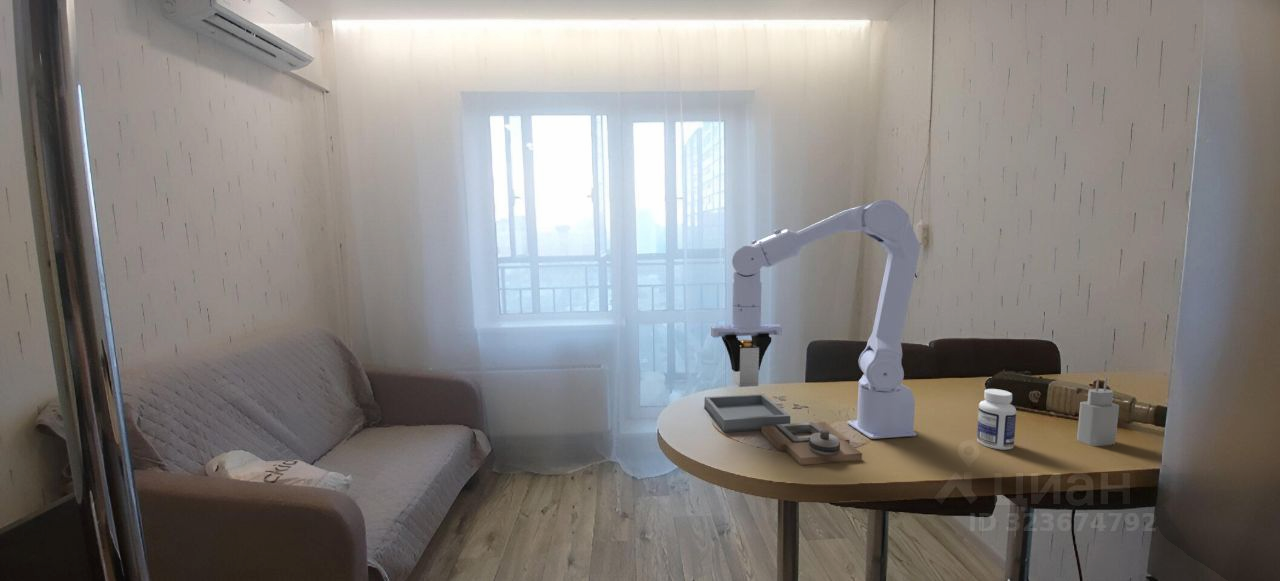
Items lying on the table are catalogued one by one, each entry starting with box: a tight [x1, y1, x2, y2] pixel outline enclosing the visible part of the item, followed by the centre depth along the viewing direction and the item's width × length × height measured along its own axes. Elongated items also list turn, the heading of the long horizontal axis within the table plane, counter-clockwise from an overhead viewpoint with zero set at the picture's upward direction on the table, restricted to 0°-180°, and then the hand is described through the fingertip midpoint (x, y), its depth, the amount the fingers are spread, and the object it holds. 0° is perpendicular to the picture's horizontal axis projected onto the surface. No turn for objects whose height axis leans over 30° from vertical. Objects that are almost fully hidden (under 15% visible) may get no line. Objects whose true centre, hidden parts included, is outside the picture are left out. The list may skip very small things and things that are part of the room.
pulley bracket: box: [760, 421, 863, 465], centre depth 85 cm, size 13×14×4 cm
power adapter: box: [1076, 377, 1120, 447], centre depth 85 cm, size 3×5×12 cm, turn 101°
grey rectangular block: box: [732, 339, 760, 388], centre depth 97 cm, size 4×4×9 cm
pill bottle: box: [976, 388, 1017, 451], centre depth 85 cm, size 5×5×10 cm
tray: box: [703, 393, 791, 433], centre depth 99 cm, size 14×14×2 cm
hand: (745, 369), depth 98 cm, fingers closed on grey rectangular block, 4 cm apart
